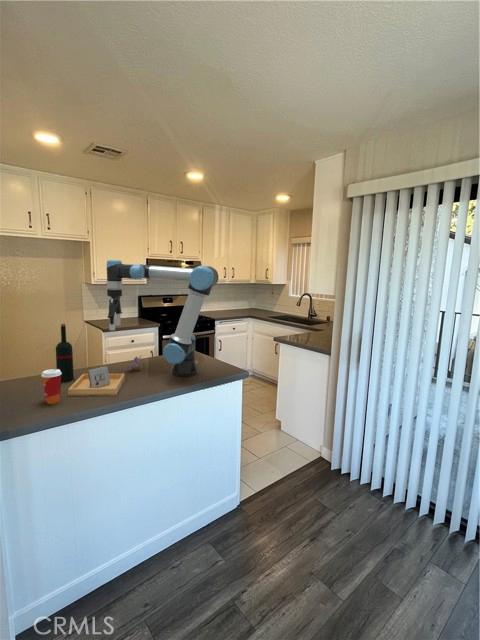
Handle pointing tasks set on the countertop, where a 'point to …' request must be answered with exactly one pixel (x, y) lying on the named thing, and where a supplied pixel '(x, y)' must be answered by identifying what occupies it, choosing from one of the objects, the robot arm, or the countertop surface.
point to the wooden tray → (84, 389)
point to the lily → (134, 363)
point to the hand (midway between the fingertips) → (115, 327)
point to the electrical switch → (99, 377)
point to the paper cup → (52, 385)
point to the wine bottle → (64, 357)
